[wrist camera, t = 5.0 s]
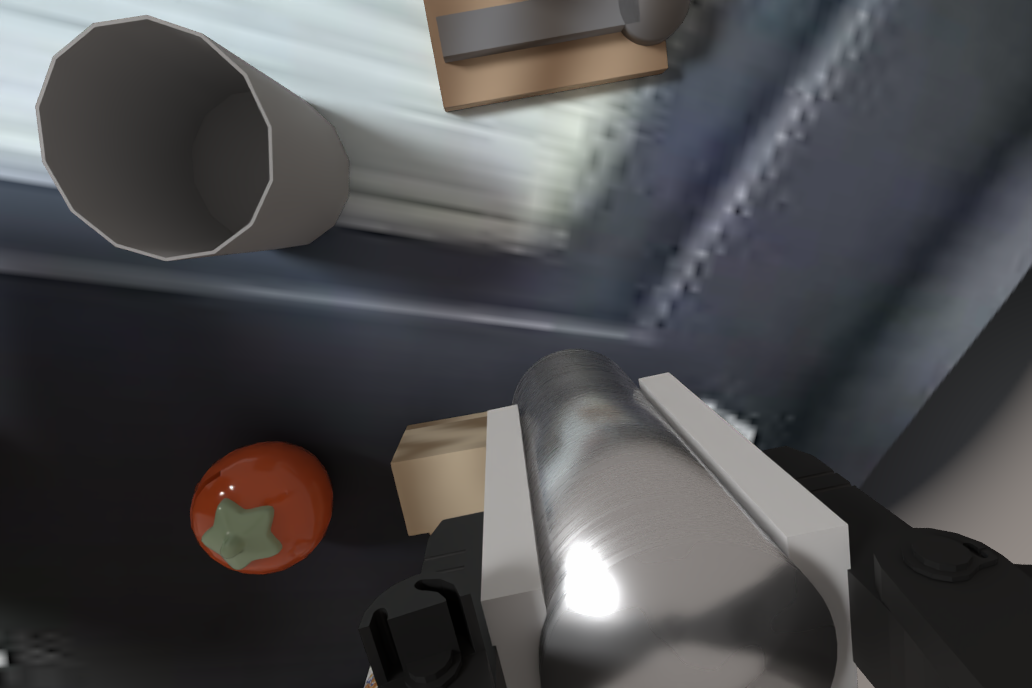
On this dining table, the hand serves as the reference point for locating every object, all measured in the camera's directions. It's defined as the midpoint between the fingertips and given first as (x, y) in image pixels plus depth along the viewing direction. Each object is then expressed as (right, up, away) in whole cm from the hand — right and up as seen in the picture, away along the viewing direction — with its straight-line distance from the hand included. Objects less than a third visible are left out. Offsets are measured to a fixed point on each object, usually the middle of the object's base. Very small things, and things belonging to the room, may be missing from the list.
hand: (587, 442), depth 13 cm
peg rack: (0, +20, +14) cm, 24 cm away
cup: (-15, +12, +16) cm, 25 cm away
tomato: (-16, -6, +20) cm, 26 cm away
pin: (0, +1, +2) cm, 2 cm away
